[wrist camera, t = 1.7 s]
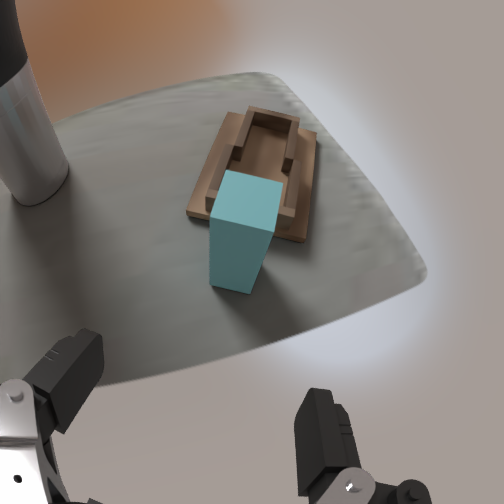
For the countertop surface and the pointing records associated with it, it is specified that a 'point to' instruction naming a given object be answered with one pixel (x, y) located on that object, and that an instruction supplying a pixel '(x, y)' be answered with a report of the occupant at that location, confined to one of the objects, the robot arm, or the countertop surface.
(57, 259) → the countertop surface
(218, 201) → the post
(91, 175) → the countertop surface
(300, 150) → the keyhole board
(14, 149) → the robot arm
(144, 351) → the countertop surface
